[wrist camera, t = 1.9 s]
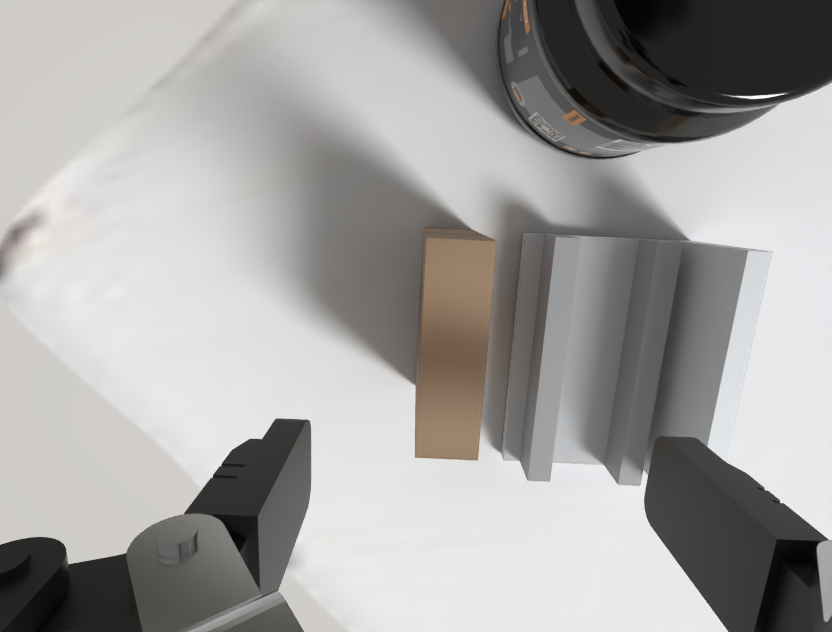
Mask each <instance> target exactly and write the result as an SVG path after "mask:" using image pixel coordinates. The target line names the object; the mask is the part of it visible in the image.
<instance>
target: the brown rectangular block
mask: <svg viewBox="0 0 832 632" xmlns="http://www.w3.org/2000/svg"><path fill="white" fill-rule="evenodd" d="M496 245H497V241H495V240H493V239H491V238H489V237H487V236H484V235H482V234H480V233H478V232H476V231H474V230H465V229H445V228H425V227H424V235H423V254H422V273H421V292H420V312H419V331H418V350H417V370H416V404H415V458H437V459H459V460H478V451H479V440H480V428H481V417H482V405H483V394H484V382H485V371H486V360H487V348H488V337H489V325H490V314H491V302H492V291H493V279H494V268H495V256H496Z"/></svg>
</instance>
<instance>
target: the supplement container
mask: <svg viewBox="0 0 832 632" xmlns="http://www.w3.org/2000/svg"><path fill="white" fill-rule="evenodd" d="M496 64H497V72H498V76H499V81H500V84H501V87H502V90H503V93H504V96H505V98H506V100H507V103H508V105H509V107H510V108H511V110H512V112H513V113H514V115H515V116H516V118H517V119H518V121H519V122H520V123H521V124H522V126H523V127H524V128H525V129H526V130H527V131H528V132H529V133H530V134H531V135H532V136H533V137H535V138H536V139H537V140H538V141H540V142H541V143H543V144H544V145H546V146H547V147H549V148H551V149H553V150H555V151H557V152H560V153H562V154H565V155H568V156H572V157H575V158H581V159H588V160H605V159H614V158H620V157H625V156H628V155H632V154H635V153H638V152H640V151H643V150H647V149H651V148H655V147H659V146H664V145H668V144H682V143H690V142H696V141H702V140H706V139H710V138H713V137H717V136H720V135H724V134H726V133H729V132H731V131H734V130H736V129H739V128H741V127H743V126H745V125H747V124H749V123H751V122H753V121H754V120H756V119H758V118H760V117H761V116H763V115H764V114H766V113H767V112H769V111H771V110H772V109H774V108H775V107H776V106H777V105H779V104H780V103H783V102H786V101H790V100H793V99H797V98H799V97H802V96H804V95H807V94H809V93H812V92H814V91H816V90H818V89H820V88H822V87H824V86H826V85H828V84H830V83H832V0H504V2H503V5H502V8H501V12H500V16H499V20H498V26H497V32H496Z"/></svg>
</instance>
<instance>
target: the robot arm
mask: <svg viewBox="0 0 832 632" xmlns="http://www.w3.org/2000/svg"><path fill="white" fill-rule="evenodd" d="M310 491H311V425H310V421H309V420H300V419H275V421H274V422H273V424H272V425H271V427H270V428H269V430H268V431H267V433H266V434H265V436H264V437H263V439H249V440H248V441H246V442H244V443H243V444H241V445H239V446H238V447H236V448H235V449H233V450H232V451H231V452H230V453H229V455H228V456H227V457H226V459H225V460H224V461H223V463H222V466H220V467H219V468H218V469H217V471H216V472H215V473H214V475H213V478H211V479H210V480H209V481H208V483H207V484H206V485H205V487H204V488H203V489H202V491H201V492H200V493H199V495H198V496H197V497H196V498H195V500H194V501H193V502H192V504H191V505H190V506H189V508H188V509H187V510H186V512H185V513H184V514H183V515H179V516H174V517H171V518H168V519H165V520H163V521H160V522H158V523H156V524H154V525H152V526H150V527H148V528H147V529H145V530H144V531H143V532H141V533H140V534H139V535H138V536H137V537H136V538H135V539H134V540H133V541H132V543H131V544H130V546H129V548H128V550H127V553H125V554H122V555H117V556H113V557H107V558H101V559H96V560H91V561H85V562H79V563H73V564H68V561H67V554H66V548H65V546H64V544H63V543H61V542H60V541H58V540H56V539H52V538H46V537H34V538H25V539H20V540H15V541H11V542H9V543H5V544H1V545H0V632H304V631H303V629H302V627H301V626H300V624H299V622H298V621H297V619H296V617H295V616H294V614H293V612H292V610H291V609H290V607H289V606H288V604H287V602H286V600H285V599H284V597H283V596H282V595H281V594H280V593H279V592H278V590H279V587H280V584H281V581H282V578H283V576H284V573H285V570H286V567H287V564H288V562H289V559H290V556H291V553H292V551H293V548H294V545H295V542H296V539H297V537H298V534H299V531H300V528H301V526H302V523H303V520H304V517H305V514H306V512H307V508H308V504H309V499H310ZM644 504H645V512H646V516H647V519H648V521H649V523H650V525H651V527H652V528H653V529H654V531H655V532H656V534H657V535H658V536H659V538H660V539H661V540H662V542H663V543H664V544H665V546H666V547H667V549H668V550H669V551H670V553H671V554H672V555H673V557H674V558H675V559H676V561H677V562H678V563H679V565H680V566H681V568H682V569H683V570H684V572H685V573H686V574H687V576H688V577H689V578H690V580H691V581H692V582H693V584H694V585H695V587H696V588H697V589H698V591H699V592H700V593H701V595H702V596H703V597H704V599H705V600H706V602H707V603H708V604H709V606H710V607H711V608H712V610H713V611H714V612H715V614H716V615H717V616H718V618H719V619H720V621H721V622H722V623H723V625H724V626H725V627H726V629H727V630H728V631H729V632H832V540H828V539H827V538H826V537H825V536H823V535H822V534H821V533H820V532H818V531H817V530H816V529H815V528H814V527H812V526H811V525H810V524H809V523H807V522H806V521H805V520H804V519H802V518H801V517H800V516H799V515H797V514H796V513H795V512H794V511H792V510H791V509H790V508H789V507H787V506H786V505H785V504H784V503H780V500H779V499H778V498H776V497H775V496H774V495H773V494H771V493H770V492H769V491H765V490H764V487H763V486H761V485H760V484H759V483H758V482H757V481H755V480H754V479H753V478H752V477H750V476H749V475H748V474H747V473H745V472H743V471H741V470H739V469H737V468H736V467H734V466H732V465H730V464H728V463H726V462H725V461H724V460H723V459H722V458H720V457H719V456H718V455H717V454H715V453H714V452H713V451H712V450H711V449H709V448H708V447H707V446H706V445H705V444H703V443H702V442H701V441H700V440H698V439H697V438H694V437H674V436H660V437H658V438H657V439H656V441H655V443H654V446H653V451H652V457H651V462H650V468H649V474H648V480H647V485H646V491H645V498H644Z"/></svg>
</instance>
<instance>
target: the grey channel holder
mask: <svg viewBox="0 0 832 632" xmlns="http://www.w3.org/2000/svg"><path fill="white" fill-rule="evenodd" d="M771 256H772V252H769V251H762V250H755V249H747V248H740V247H733V246H725V245H718V244H711V243H703V242H696V241H685V240H665V239H645V238H625V237H604V236H584V235H564V234H544V233H524V232H523V239H522V249H521V259H520V269H519V279H518V289H517V299H516V309H515V319H514V329H513V339H512V350H511V360H510V370H509V380H508V390H507V400H506V410H505V420H504V430H503V440H502V450H501V454H502V457H503V460H509V461H520V463H521V465H522V468H523V470H524V473H525V475H526V478H527V480H528V481H548V482H550V476H551V468H552V463H574V464H596V465H604V466H605V467H606V468H607V470H608V471H609V473H610V474H611V475H612V477H613V478H614V480H615V481H616V482H617V484H618V485H635V486H640V484H641V479H642V473H643V470H644V471H645V472H646V473H647V474H649V468H650V462H651V457H652V451H653V446H654V443H655V441H656V439H657V438H658V437H660V436H674V437H694V438H697V439H698V440H700V441H701V442H702V443H703V444H705V445H706V446H707V447H708V448H709V449H711V450H712V451H713V452H714V453H715V454H717V455H718V456H719V457H720V458H722V459H723V460H724V461H725V462H726V460H727V456H728V451H729V447H730V442H731V438H732V433H733V428H734V424H735V419H736V415H737V410H738V406H739V401H740V397H741V392H742V388H743V383H744V379H745V374H746V370H747V365H748V361H749V356H750V351H751V347H752V342H753V338H754V333H755V329H756V324H757V320H758V315H759V311H760V306H761V302H762V297H763V293H764V288H765V284H766V279H767V275H768V270H769V265H770V261H771Z"/></svg>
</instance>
